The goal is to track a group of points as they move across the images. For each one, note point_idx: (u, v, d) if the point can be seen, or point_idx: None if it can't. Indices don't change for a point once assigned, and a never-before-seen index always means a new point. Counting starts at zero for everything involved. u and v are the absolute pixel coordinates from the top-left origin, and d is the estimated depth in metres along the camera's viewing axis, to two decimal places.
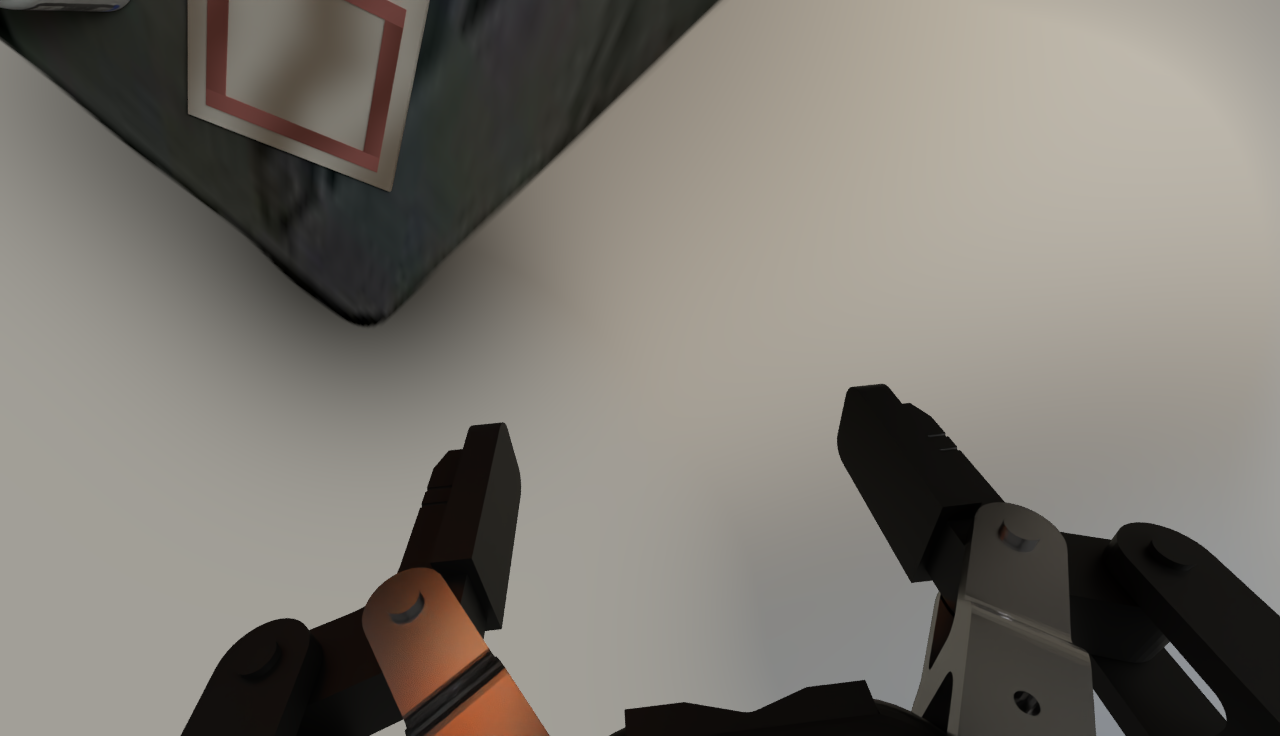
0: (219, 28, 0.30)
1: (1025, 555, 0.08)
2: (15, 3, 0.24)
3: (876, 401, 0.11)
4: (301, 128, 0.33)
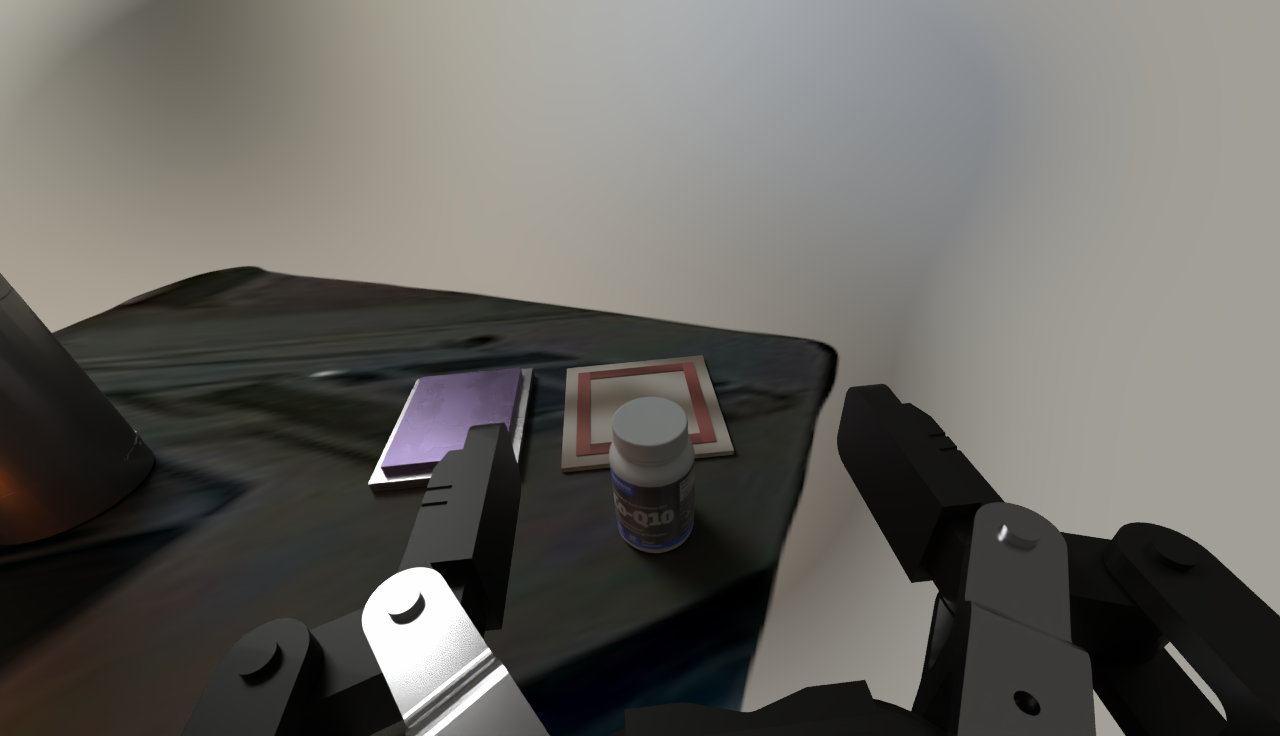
0: None
1: (1025, 555, 0.08)
2: None
3: (876, 401, 0.11)
4: (691, 396, 0.40)
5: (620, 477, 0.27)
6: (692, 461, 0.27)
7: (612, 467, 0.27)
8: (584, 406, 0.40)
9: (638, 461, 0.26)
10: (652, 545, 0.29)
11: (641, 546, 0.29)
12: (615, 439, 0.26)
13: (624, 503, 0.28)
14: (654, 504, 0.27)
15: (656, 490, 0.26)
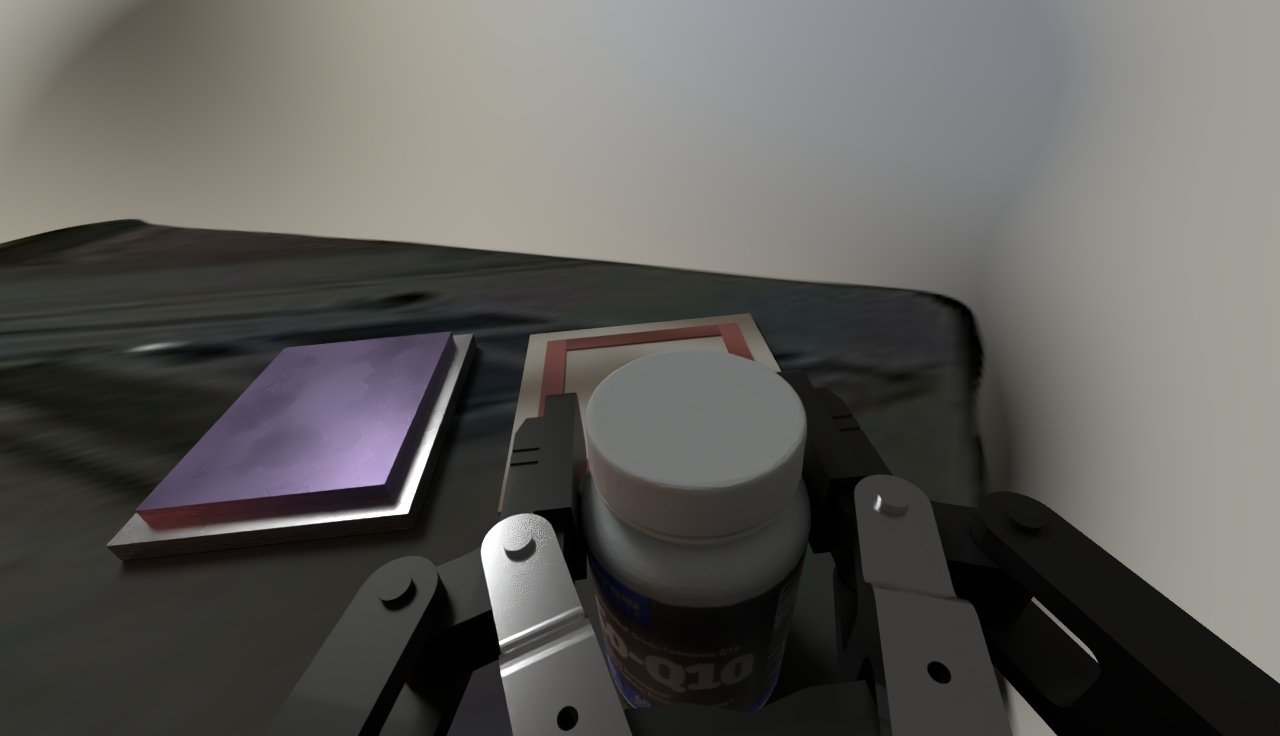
0: None
1: (893, 521, 0.08)
2: None
3: None
4: None
5: (609, 573, 0.09)
6: (810, 523, 0.10)
7: (588, 540, 0.10)
8: None
9: (665, 534, 0.08)
10: None
11: None
12: (594, 464, 0.09)
13: (620, 632, 0.10)
14: (706, 648, 0.09)
15: (716, 616, 0.09)
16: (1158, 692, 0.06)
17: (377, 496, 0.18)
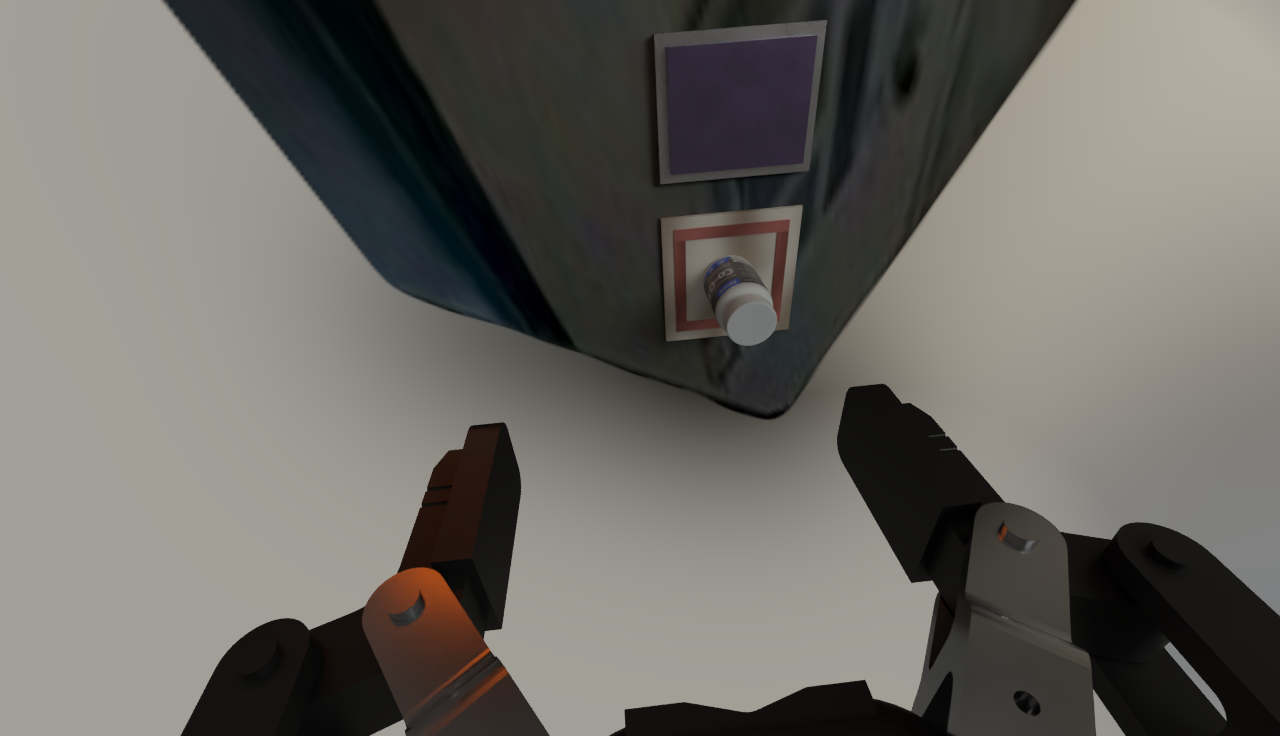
0: (681, 287, 0.46)
1: (1025, 555, 0.08)
2: None
3: (876, 401, 0.11)
4: None
5: (726, 290, 0.40)
6: None
7: (735, 286, 0.40)
8: (735, 231, 0.43)
9: (726, 310, 0.40)
10: (704, 280, 0.45)
11: (706, 273, 0.45)
12: (742, 301, 0.38)
13: (720, 280, 0.42)
14: (711, 302, 0.42)
15: (714, 310, 0.41)
16: None
17: (669, 168, 0.40)
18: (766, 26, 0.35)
